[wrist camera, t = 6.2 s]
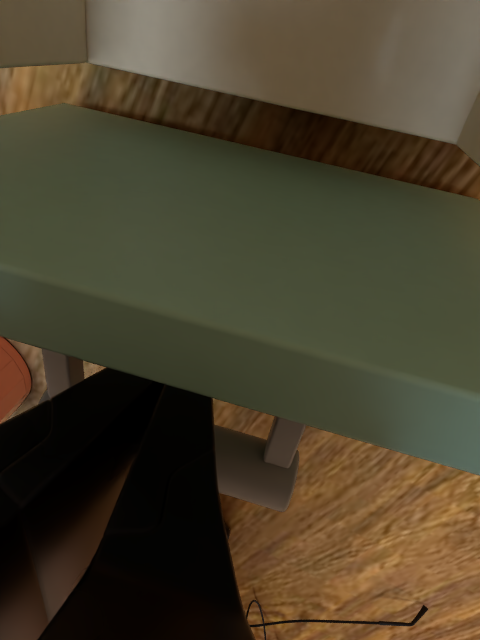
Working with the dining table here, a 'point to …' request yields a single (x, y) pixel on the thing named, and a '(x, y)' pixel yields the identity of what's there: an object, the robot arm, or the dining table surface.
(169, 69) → the drawer
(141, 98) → the dining table surface
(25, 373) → the cup
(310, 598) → the dining table surface
